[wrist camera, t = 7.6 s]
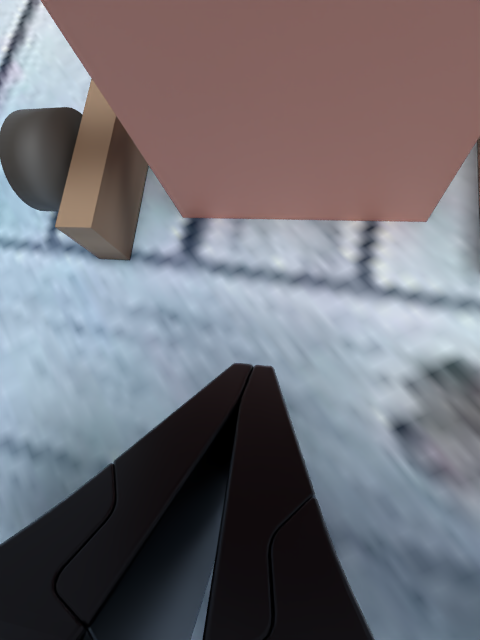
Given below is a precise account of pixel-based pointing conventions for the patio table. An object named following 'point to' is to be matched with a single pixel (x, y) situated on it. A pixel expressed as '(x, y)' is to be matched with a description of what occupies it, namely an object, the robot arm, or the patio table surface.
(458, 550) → the patio table surface
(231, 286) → the patio table surface
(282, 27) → the pink toy brick
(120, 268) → the patio table surface
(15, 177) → the chassis bay
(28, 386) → the patio table surface
